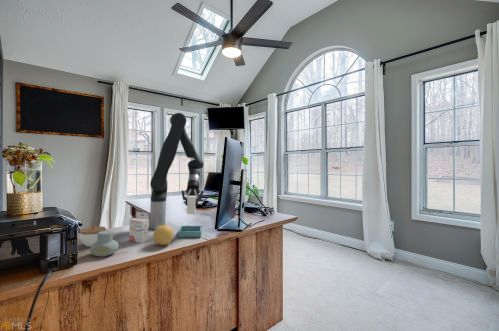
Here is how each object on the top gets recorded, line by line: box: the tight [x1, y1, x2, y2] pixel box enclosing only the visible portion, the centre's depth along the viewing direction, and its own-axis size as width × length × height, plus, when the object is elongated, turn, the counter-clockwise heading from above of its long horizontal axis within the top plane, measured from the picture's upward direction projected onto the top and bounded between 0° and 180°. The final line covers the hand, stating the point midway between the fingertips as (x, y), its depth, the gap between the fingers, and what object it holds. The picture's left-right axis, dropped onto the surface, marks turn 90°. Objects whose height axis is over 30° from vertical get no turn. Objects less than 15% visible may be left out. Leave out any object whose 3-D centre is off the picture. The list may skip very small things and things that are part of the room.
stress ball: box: [152, 224, 174, 246], centre depth 119 cm, size 10×10×10 cm
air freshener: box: [89, 229, 120, 258], centre depth 104 cm, size 11×8×10 cm
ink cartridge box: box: [128, 211, 150, 244], centre depth 123 cm, size 9×5×15 cm, turn 74°
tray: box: [177, 225, 203, 239], centre depth 137 cm, size 13×13×4 cm
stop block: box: [186, 196, 197, 215], centre depth 137 cm, size 4×4×10 cm
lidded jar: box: [79, 225, 107, 248], centre depth 115 cm, size 11×11×9 cm
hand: (191, 205), depth 136 cm, fingers closed on stop block, 4 cm apart
